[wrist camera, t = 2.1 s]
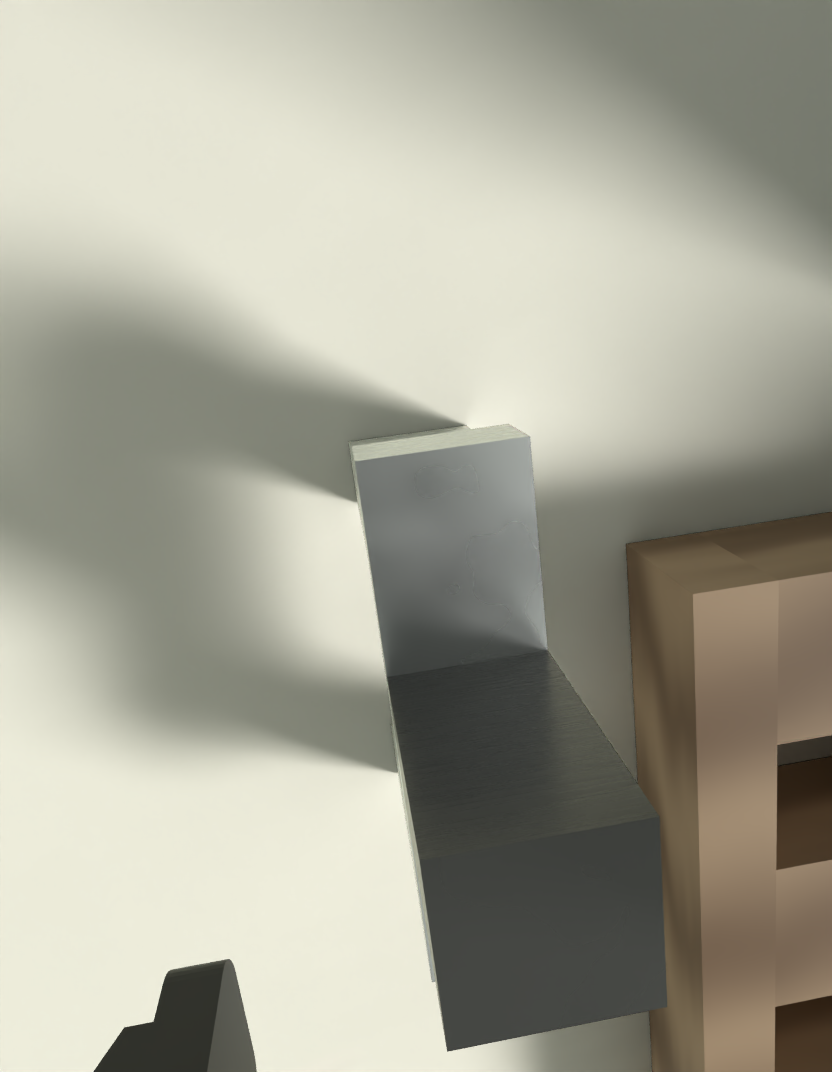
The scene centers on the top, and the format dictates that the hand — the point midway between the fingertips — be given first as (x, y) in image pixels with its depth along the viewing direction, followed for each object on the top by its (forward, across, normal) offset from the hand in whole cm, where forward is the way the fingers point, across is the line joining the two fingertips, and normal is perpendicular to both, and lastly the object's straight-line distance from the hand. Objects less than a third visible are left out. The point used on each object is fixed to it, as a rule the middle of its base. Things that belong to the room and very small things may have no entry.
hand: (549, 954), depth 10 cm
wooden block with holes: (+12, -10, +8) cm, 18 cm away
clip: (+12, 0, 0) cm, 12 cm away
